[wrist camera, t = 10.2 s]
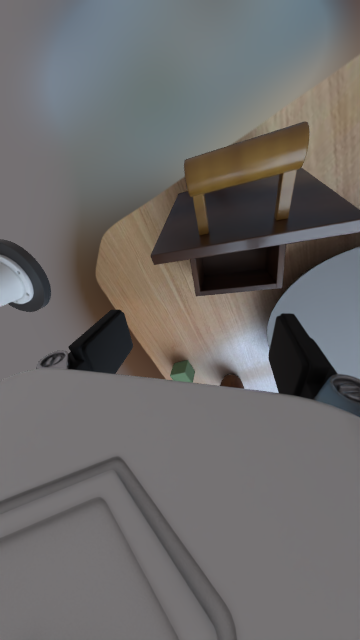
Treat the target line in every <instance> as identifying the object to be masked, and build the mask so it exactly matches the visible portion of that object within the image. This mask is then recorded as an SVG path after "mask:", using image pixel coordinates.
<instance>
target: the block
mask: <svg viewBox="0 0 360 640" xmlns="http://www.w3.org/2000/svg"><path fill="white" fill-rule="evenodd" d="M194 373H195V371H194V369H193V368H192V366H191V364H190V363H189V361H188V360H186V361H182V362H178V363H174V365H173V368H172V371H171V374H170V376H171V378H172V379H173V381H182V382H191V383H193V379H194Z"/></svg>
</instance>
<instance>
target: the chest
mask: <svg viewBox="0 0 360 640" xmlns="http://www.w3.org/2000/svg"><path fill="white" fill-rule="evenodd" d="M285 250H286V244H283V245H276V246H270V247H264V248H257V249H251V250H245V251H238V252H232V253H226V254H219V255H213V256H207V257H201V258H194V259H190V262H191V269H192V275H193V281H194V287H195V294H196V296H205V295H215V294H225V293H235V292H245V291H255V290H266V289H276V288H282V285H283V273H284V262H285Z"/></svg>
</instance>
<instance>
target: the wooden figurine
mask: <svg viewBox="0 0 360 640" xmlns="http://www.w3.org/2000/svg"><path fill="white" fill-rule="evenodd" d="M220 386H225V387H233V388H242V389H244V386H243V384H242V381H241V380H240V378H239V377H238V376H236V375H232V374H230V375H227V376H225V377H224V378H223V380H222V382H221V385H220Z"/></svg>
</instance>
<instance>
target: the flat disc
mask: <svg viewBox="0 0 360 640" xmlns="http://www.w3.org/2000/svg"><path fill="white" fill-rule="evenodd" d="M282 313H291V314H294V315H295V316H296V317H297V319H298V320H299V322H300V323H301V325H302V326H303V328H304V329H305V331H306V332H307V334H308V335H309V337H310V338H312V339H314V341H315V342H316V343H317V345H318V346H319V348H320V349H321V351H322V352H323V353H324V355H325V356H326V358H327V359H328V361H329V362H330V363H331V365H332V366H333V368H334V369H335V371H336V372H337V374H344V375H349V376H353V377H355V378H358V379H360V247H358V248H355V249H352V250H349V251H347V252H344V253H341V254H339V255H337V256H335V257H333V258H330V259H328V260H326V261H324V262H323V263H321V264H319V265H317V266H315V267H313V268H311V269H309V270H308V271H307V272H305V273H304V274H302V275H301V276H300V277H299V278H298V279H297V280H296V281H295V282H294V283H293V284H291V285H290V287H289V288H288V289H287V290H286V291H285V292H284V294H283V295H282V296H281V298H280V299H279V301H278V302H277V304H276V305H275V307H274V309H273V311H272V313H271V316H270V319H269V322H268V327H267V341H268V346H269V349H270V345H271V340H272V336H273V331H274V326H275V321H276V317H277V316H280V315H281V314H282Z"/></svg>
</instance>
